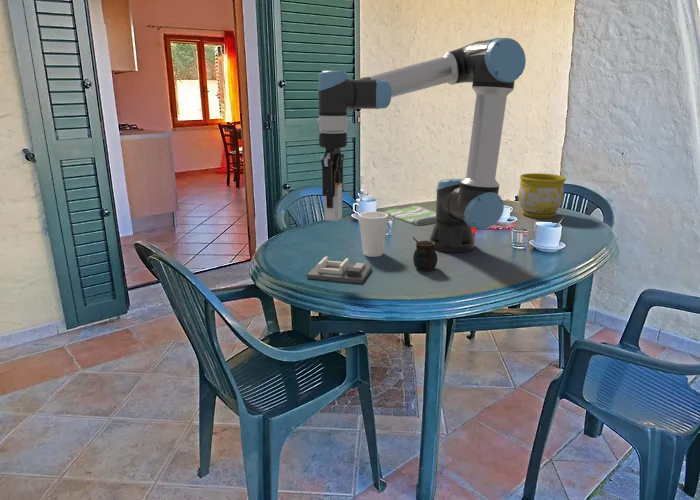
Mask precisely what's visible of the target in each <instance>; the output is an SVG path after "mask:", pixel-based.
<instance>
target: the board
mask: <svg viewBox="0 0 700 500" xmlns="http://www.w3.org/2000/svg"><path fill="white" fill-rule="evenodd" d="M349 261H350V258H349V257H346V258H345V259H344V260H343V261H336V260H335V261H334V260H329V256H324V257H323V258H322V259H321V260H320V261H319V262H318V263H316V265H314V267H313V268H312V269H311V270H310V271H309V272H307V274H306V279H310V280H312V279H313V280H322V281H329V282H330V281H332V282H333V281H334V282H341V283H351V284H363V282H364V281H365V280H366V278H367V277H368V275H369V274H370V273H371V271H372V269H373V266H372V265H368V264H365V263H364V262H356V263H350V262H349Z"/></svg>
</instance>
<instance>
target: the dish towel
mask: <svg viewBox="0 0 700 500" xmlns="http://www.w3.org/2000/svg"><path fill="white" fill-rule="evenodd" d="M384 213H387V214H388V217H389V216H390V217H392V218H395V219H397V220H400V221H402V222H404V223H407V224H411V225H414V226H421V225H427V224H435V222H436V211H433V210H429V209H426V208H425V207H422V206H418V205H411V206H409V207H404V208H392V209H391V208H390V209H387V210H386V211H384Z"/></svg>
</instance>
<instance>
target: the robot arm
mask: <svg viewBox="0 0 700 500" xmlns="http://www.w3.org/2000/svg"><path fill="white" fill-rule="evenodd" d="M526 59H527V58H526V54H525V51H524V48H523V47H522V46H521V44H520V43H519V42H518V41H517V40H515V39H513V38H510V37H495V38H492V39H486V40H485V39H484V40H479V41H475V42H473V43H469V44H467V45H465V46H462V47H460V48H456V49H453V50H450V51H446V52H445V53H444V54H443V55H442V56H441V57H436V58H433V59H430V60H426V61H422V62H418V63H414V64H410V65H406V66H403V67H402V66H401V67H399V68H394V69H391V70H386V71H383V72H380V73H375V74H372V75H368V76H365V77H361V78H356V79H351V78H348V72H346V71H344V70H322V71H321V72H320V73H319V75H318V84H317V85H318V87H317V91H318V94H317V95H318V118H317V120H316V121H317V123H318V130H319V131H320V132H319V134H318V146H319V148H320V147H321V148H325V152H324V155H323V158H321V159H320V163H321V171H322V173H321V175H322V178H321V179H322V193H321V195H322V197H324V196H326V219H334V220H335V219H336V196H334V195H335V183H342V193H344V191H345V190H344V189H343V187H344V159H345V154H344V153H341V148H346V147H347V146H348V134H347V131H348V109H350V110H352V109H353V110H354V109H355V110H356V109H357V110H358V109H359V110H360V109H361V110H373V109H374V110H379V109H387V108H388V107H389V106H390V104H391V101H392V98H395V97H399V96H403V95H407V94H409V93H413V92H417V91H421V90H425V89H429V88H431V87H432V88H433V87H436V86H440V85H443V84H448V85H451V86H452V85H453V86H454V85H456V84H462V83H472V85H471V88H472V90H473V91H474V92H475V102H474V103H475V105H474V111H473V112H474V113H473V121H472V127H471V134H470V135H471V136H470V144H469V151H468V159H467V167H466V174H465V177H463V178H449V179H448V178H445V179H440V180H439V181H438V183H437V186H436V205H435V206H436V207H435V212H436V222H435V223H434V224H435V225H434V226H433V229H432V230H431V234H430V236H429V240H428V241H432V242H434V243H435V251H439V252H445V253H465V252H470V251H472V250H474V249H475V245H476V244H475V243H476V242H475V237H474V233H473V229H472V228H474V229H477V230H485V229H489V228H491V227H493V226H494V225H495V224H497V223H498V222H499V221H500V219H501V218H502V216H503V213H504V209H505V204H504V201H503V199H502V197H501V196H500V195H499V189H500V183H499V182H498V181H497V179H496V175H497V168H498V161H499V153H500V146H501V142H502V141H501V140H502V134H503V127H504V119H505V113H506V104H507V99H508V98H507V97H508V96H509V95H510V94H511V92H513V91H514V89H515V82H516V80H518V79H519V77H520V76H521V75H523V73H524V70H525V68H526V62H527V61H526Z"/></svg>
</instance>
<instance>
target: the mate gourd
mask: <svg viewBox="0 0 700 500" xmlns="http://www.w3.org/2000/svg"><path fill="white" fill-rule="evenodd" d="M412 238H413V240H414V241H415V242H416V243H415V245H416V246H415V247H416V249H415V250H414V253H413V258H412V261H413V264H414V266H415V268H416V269H417V270H419V271H424V272H425V271H426V272H429V271H432V270H433V269H435V267H436V266H437V263H438V259H439V257H438V254H437V252H436V250H435V243H434V242H432V241H429V240H419V241H418V240H417V239H416V238H415V237H412Z"/></svg>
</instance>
